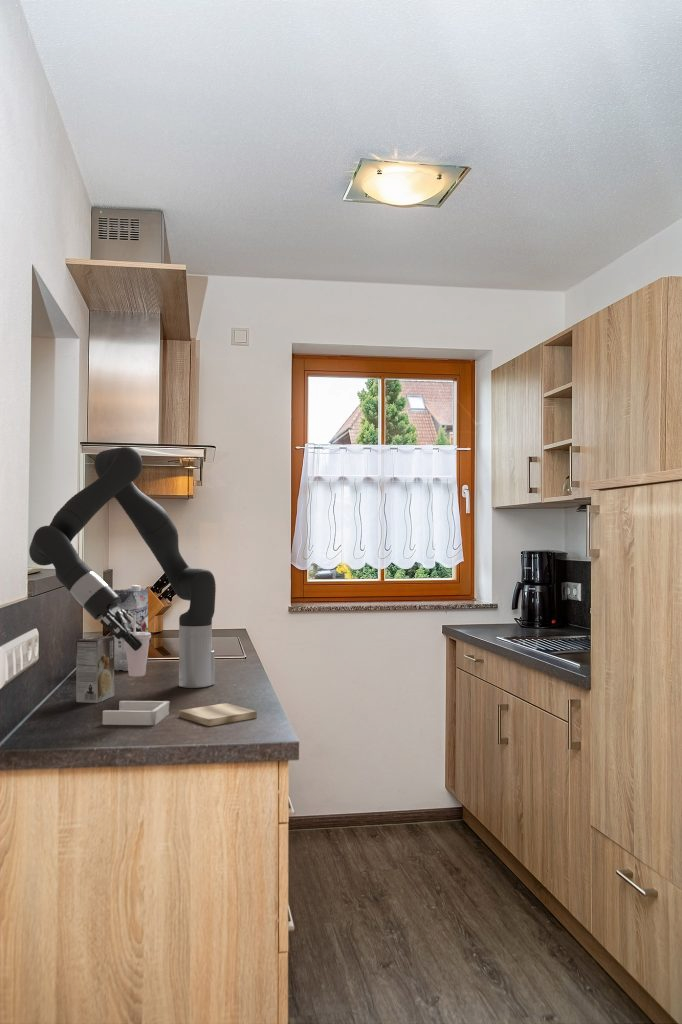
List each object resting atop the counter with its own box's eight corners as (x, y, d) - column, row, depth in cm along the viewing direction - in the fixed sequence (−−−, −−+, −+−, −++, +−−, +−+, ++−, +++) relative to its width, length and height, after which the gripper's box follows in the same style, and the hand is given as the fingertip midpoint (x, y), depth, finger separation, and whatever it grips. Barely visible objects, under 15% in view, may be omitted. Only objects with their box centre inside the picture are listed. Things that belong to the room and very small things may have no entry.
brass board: (226, 709, 202) (226, 703, 202) (256, 717, 192) (256, 711, 192) (179, 716, 193) (179, 710, 193) (208, 726, 183) (208, 719, 184)
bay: (102, 724, 186) (102, 711, 186) (120, 713, 197) (120, 700, 198) (154, 725, 185) (154, 711, 185) (169, 713, 197) (169, 701, 197)
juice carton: (108, 670, 261) (109, 585, 262) (128, 666, 271) (128, 583, 272) (132, 672, 258) (133, 586, 259) (151, 667, 268) (151, 584, 269)
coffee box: (93, 695, 220) (93, 635, 221) (115, 696, 219) (115, 635, 219) (75, 702, 211) (75, 639, 212) (98, 703, 210) (98, 640, 210)
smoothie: (125, 672, 195) (125, 613, 195) (153, 672, 195) (153, 613, 195) (120, 677, 188) (120, 616, 188) (148, 677, 189) (149, 616, 189)
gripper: (94, 585, 185) (145, 638, 184) (116, 581, 200) (164, 630, 199) (71, 609, 186) (122, 662, 185) (95, 603, 200) (142, 652, 199)
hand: (144, 645), depth 192 cm, fingers closed on smoothie, 6 cm apart
